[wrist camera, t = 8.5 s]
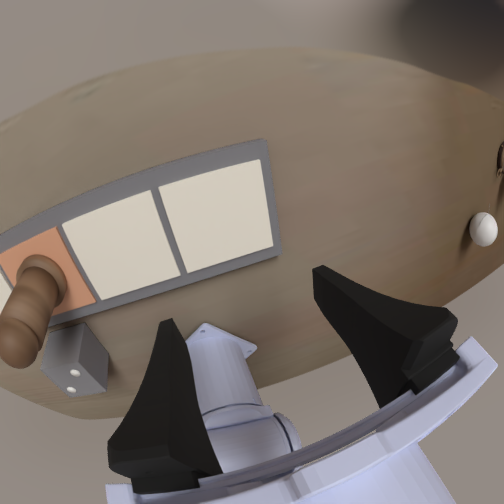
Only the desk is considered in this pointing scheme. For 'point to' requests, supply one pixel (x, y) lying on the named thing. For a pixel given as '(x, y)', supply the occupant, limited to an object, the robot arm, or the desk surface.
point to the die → (76, 361)
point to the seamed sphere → (483, 229)
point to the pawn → (30, 309)
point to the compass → (501, 160)
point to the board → (153, 230)
